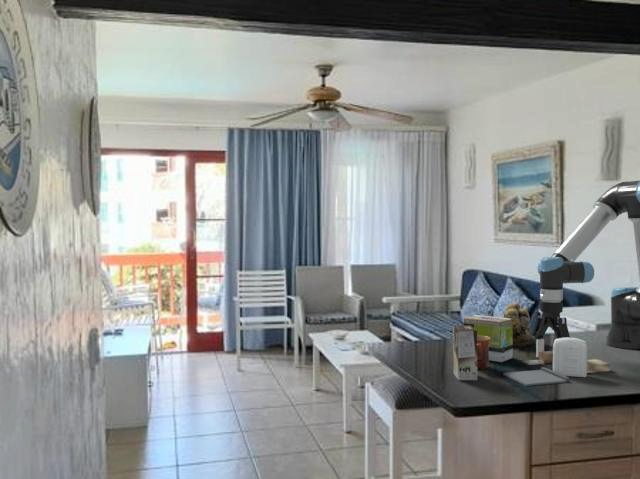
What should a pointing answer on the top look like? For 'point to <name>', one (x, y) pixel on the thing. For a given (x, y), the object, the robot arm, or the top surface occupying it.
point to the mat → (537, 377)
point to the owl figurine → (519, 325)
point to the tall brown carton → (541, 358)
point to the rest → (597, 366)
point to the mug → (482, 351)
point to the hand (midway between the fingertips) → (550, 361)
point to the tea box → (494, 335)
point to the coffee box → (465, 352)
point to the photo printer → (570, 357)
